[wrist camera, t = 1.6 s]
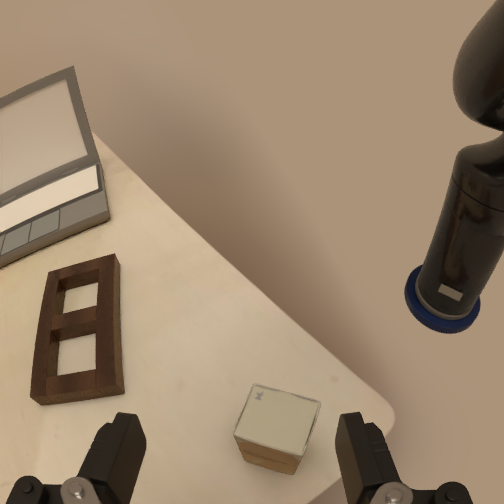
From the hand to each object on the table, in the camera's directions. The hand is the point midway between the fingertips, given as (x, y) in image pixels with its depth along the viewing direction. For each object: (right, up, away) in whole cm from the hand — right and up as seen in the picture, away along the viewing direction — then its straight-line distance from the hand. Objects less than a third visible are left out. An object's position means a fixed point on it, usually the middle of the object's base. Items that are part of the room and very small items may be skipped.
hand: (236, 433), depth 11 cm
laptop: (-47, +14, +50) cm, 70 cm away
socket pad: (-23, -3, +28) cm, 36 cm away
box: (+3, -12, +16) cm, 20 cm away
